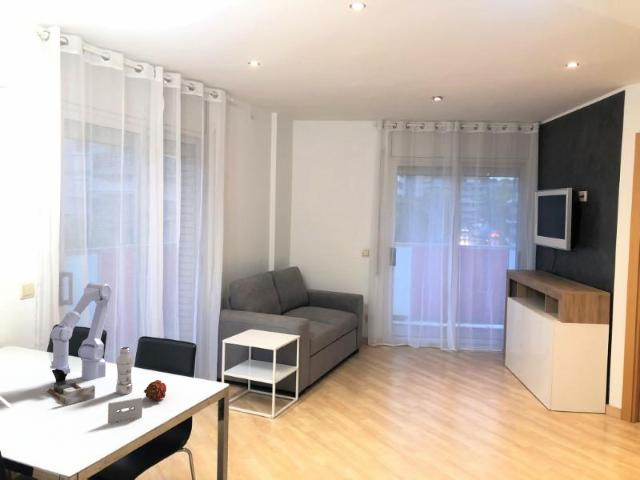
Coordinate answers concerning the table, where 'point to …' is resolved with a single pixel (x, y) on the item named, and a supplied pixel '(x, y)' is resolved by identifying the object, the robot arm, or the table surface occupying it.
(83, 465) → the table surface
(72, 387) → the cream square block
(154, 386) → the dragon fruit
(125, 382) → the plastic bottle
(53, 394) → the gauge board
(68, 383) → the grey rectangular block
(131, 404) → the cassette
